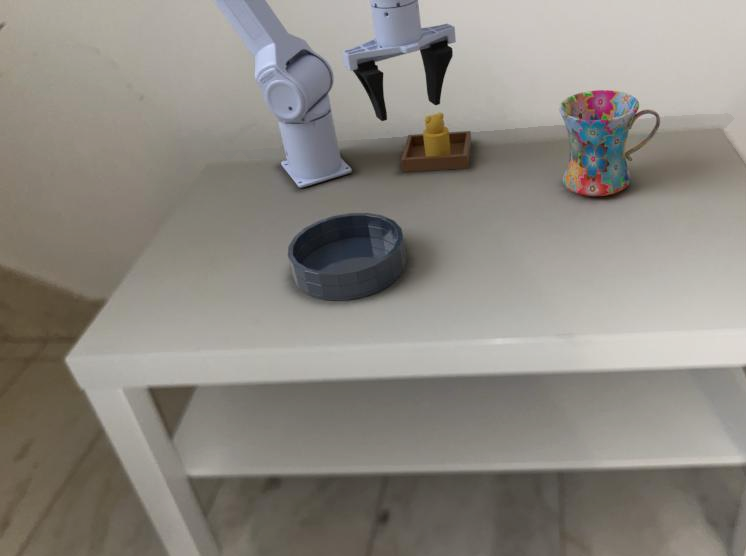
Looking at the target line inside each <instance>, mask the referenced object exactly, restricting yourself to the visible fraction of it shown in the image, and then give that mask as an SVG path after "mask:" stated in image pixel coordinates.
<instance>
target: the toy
mask: <svg viewBox="0 0 746 556" xmlns="http://www.w3.org/2000/svg"><path fill="white" fill-rule="evenodd" d="M444 115H445V114H443V112H437V114H435V113H434V114H431V115H427V116H425V117H424V122H425V129H424V130H423V131H422V134H423V138H424V146H425V154H426V156H443V155H450V154H451V151H450V141H449V132H450V131H449V128H448V127H446V126H445V121H444Z"/></svg>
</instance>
